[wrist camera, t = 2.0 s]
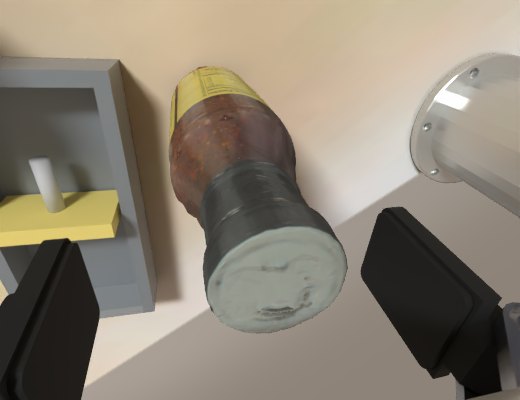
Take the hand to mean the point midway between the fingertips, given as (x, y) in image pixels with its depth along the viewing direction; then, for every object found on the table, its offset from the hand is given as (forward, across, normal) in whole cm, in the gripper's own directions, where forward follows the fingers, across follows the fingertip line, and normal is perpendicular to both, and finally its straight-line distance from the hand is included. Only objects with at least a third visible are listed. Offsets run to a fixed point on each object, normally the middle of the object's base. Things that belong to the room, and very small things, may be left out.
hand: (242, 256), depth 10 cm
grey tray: (+18, +11, +8) cm, 23 cm away
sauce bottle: (+18, -1, 0) cm, 18 cm away
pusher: (+17, +11, +5) cm, 21 cm away
